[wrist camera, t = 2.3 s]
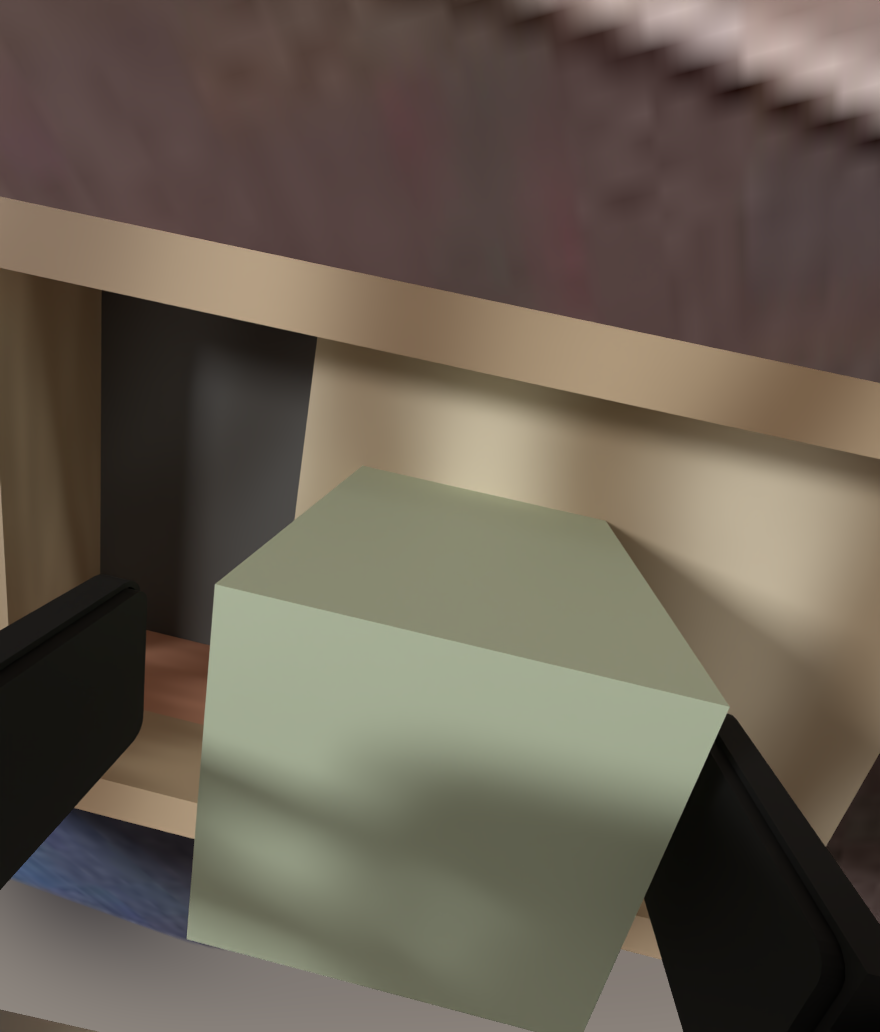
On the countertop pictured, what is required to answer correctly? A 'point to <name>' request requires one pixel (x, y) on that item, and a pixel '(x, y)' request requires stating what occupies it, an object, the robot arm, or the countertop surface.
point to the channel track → (422, 472)
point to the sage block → (442, 750)
